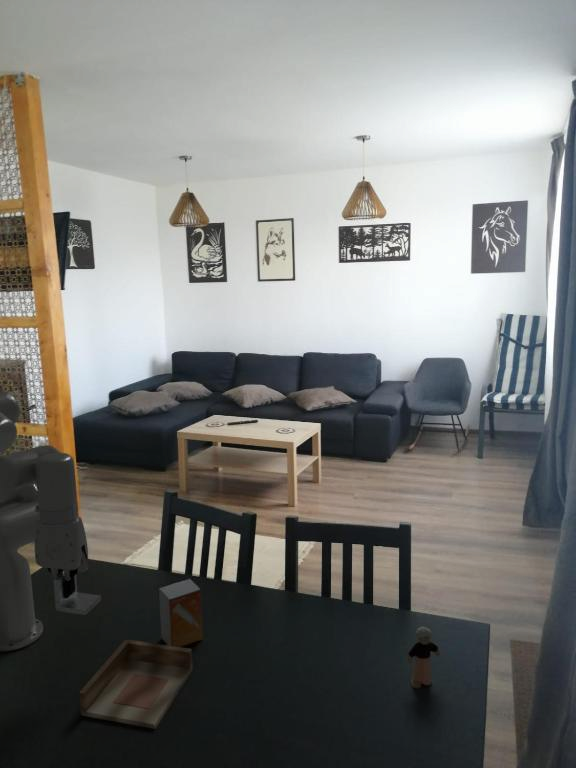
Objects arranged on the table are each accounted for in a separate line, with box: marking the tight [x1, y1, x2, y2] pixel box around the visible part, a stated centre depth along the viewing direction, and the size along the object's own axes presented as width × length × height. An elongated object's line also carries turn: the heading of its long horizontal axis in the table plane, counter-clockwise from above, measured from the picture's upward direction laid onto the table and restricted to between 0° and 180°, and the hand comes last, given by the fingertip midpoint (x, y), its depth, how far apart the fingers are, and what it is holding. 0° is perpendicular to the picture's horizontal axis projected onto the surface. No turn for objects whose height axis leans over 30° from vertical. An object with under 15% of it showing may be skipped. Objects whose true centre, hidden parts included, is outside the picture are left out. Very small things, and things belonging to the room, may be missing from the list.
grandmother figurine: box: [405, 626, 441, 689], centre depth 126 cm, size 8×4×13 cm, turn 118°
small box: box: [158, 578, 203, 648], centre depth 143 cm, size 8×6×13 cm
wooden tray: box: [78, 639, 194, 730], centre depth 126 cm, size 16×18×5 cm
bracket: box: [52, 572, 102, 616], centre depth 128 cm, size 7×6×7 cm
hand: (66, 594), depth 129 cm, fingers closed on bracket, 1 cm apart
